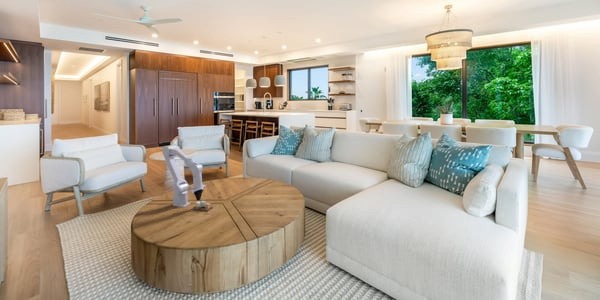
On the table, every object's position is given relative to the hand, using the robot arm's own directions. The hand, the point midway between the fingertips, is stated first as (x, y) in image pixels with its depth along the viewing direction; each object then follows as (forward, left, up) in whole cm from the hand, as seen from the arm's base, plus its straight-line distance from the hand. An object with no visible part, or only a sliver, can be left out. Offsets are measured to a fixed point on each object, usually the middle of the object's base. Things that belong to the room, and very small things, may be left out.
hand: (198, 200), depth 207 cm
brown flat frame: (+4, 0, -6) cm, 7 cm away
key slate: (+4, 0, -4) cm, 5 cm away
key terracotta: (+8, 0, -5) cm, 9 cm away
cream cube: (0, 0, -5) cm, 5 cm away
